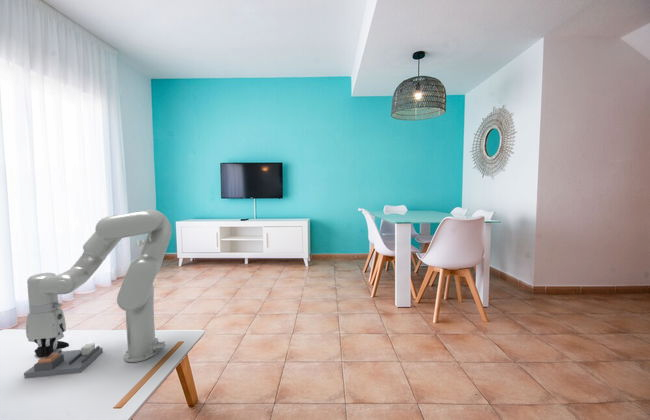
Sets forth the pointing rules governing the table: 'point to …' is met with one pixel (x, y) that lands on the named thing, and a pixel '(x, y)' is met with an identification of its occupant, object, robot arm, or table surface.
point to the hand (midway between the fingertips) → (47, 354)
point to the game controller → (59, 343)
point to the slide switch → (87, 348)
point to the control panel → (64, 363)
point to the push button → (48, 358)
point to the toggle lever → (55, 345)
